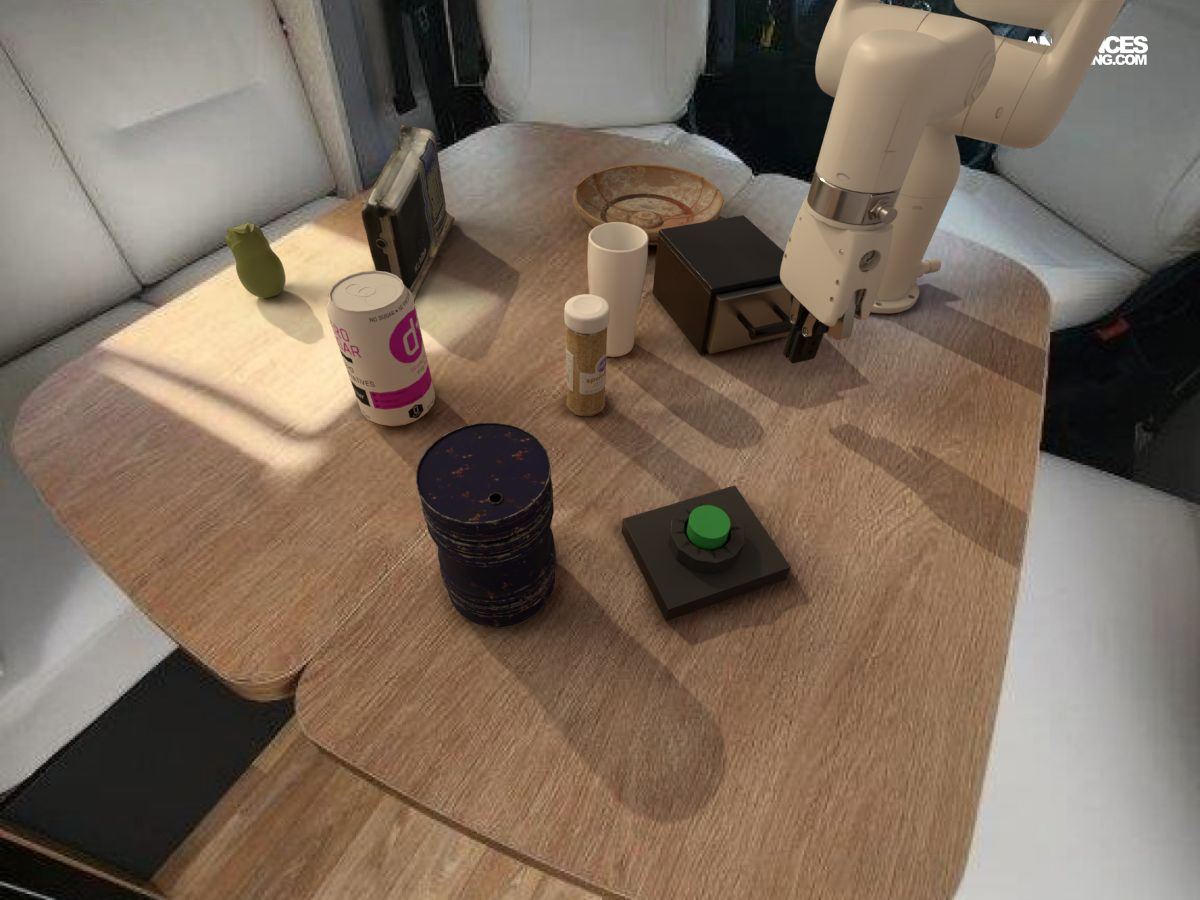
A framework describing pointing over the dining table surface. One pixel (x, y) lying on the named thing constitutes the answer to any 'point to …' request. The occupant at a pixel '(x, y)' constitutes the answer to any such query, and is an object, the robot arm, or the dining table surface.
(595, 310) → the sprinkles bottle
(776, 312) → the drawer
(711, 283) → the cabinet
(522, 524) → the storage jar
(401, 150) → the radio
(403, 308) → the soda can
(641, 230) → the tall white cup
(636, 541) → the control block
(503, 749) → the dining table surface
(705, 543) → the button
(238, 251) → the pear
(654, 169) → the ceramic bowl
